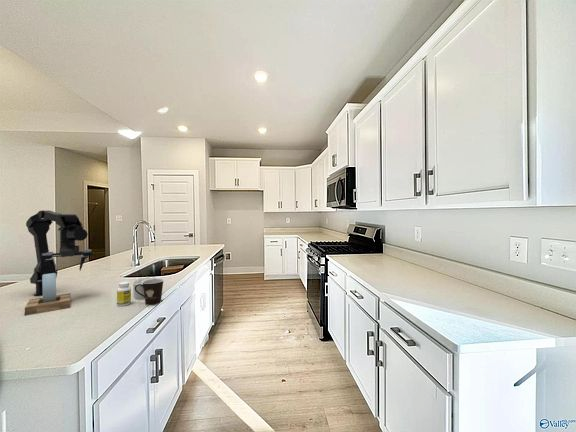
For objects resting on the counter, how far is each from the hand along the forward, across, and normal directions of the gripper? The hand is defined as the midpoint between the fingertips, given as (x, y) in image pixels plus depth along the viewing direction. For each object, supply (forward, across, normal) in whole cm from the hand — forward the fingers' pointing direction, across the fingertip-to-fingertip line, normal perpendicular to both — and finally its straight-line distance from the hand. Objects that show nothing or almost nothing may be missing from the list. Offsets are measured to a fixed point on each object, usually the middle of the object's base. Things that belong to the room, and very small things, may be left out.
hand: (67, 271), depth 125 cm
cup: (+13, +30, -18) cm, 38 cm away
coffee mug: (+13, +30, -32) cm, 46 cm away
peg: (+13, -6, -10) cm, 17 cm away
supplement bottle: (+13, +20, -27) cm, 36 cm away
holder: (+13, -6, -10) cm, 17 cm away
